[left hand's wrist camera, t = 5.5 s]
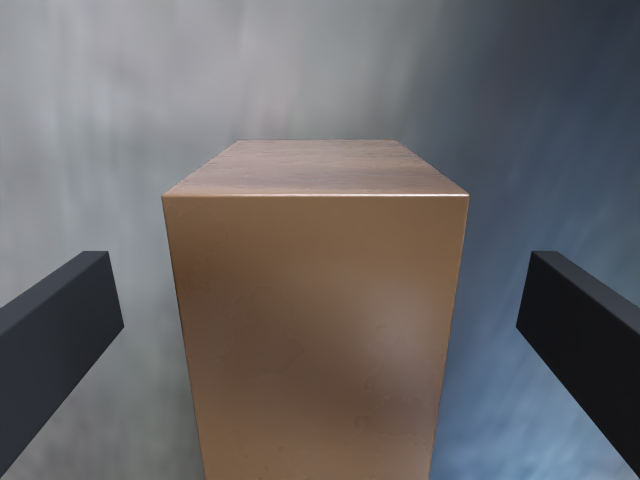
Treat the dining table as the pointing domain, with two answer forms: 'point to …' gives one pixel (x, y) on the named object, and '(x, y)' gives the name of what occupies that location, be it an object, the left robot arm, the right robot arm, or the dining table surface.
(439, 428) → the dining table surface
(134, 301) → the dining table surface
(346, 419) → the beam
